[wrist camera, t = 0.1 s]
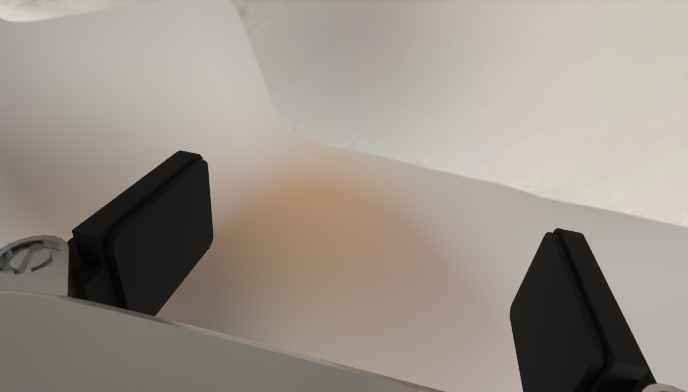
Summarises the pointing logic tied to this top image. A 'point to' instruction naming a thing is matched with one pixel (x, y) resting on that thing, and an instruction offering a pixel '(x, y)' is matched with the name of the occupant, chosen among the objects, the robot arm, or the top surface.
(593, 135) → the top surface
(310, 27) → the top surface
